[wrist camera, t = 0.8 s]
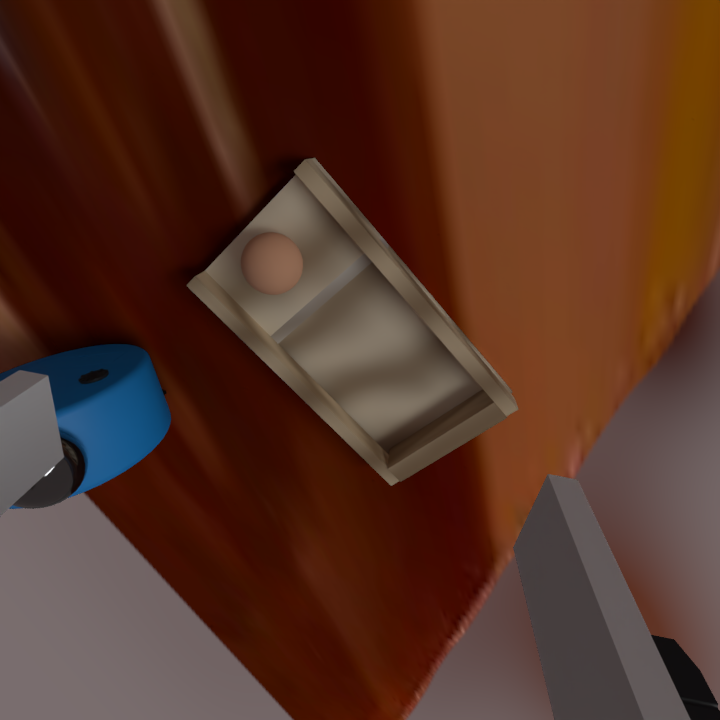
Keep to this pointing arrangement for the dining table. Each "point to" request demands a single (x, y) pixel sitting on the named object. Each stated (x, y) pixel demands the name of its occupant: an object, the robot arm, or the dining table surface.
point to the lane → (358, 333)
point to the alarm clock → (98, 417)
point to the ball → (271, 263)
